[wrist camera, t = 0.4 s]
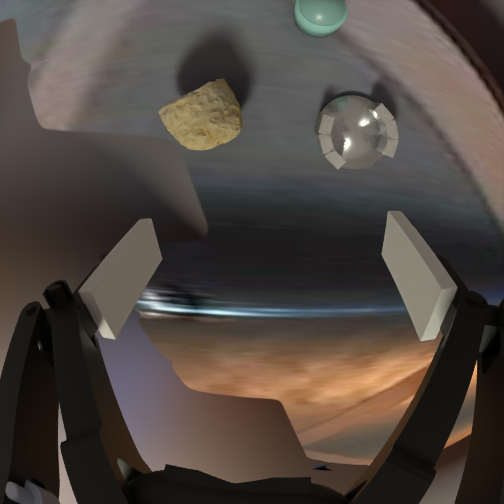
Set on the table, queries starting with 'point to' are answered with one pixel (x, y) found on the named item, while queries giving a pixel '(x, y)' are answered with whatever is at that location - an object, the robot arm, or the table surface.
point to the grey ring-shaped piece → (355, 132)
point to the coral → (204, 116)
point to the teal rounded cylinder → (319, 16)
